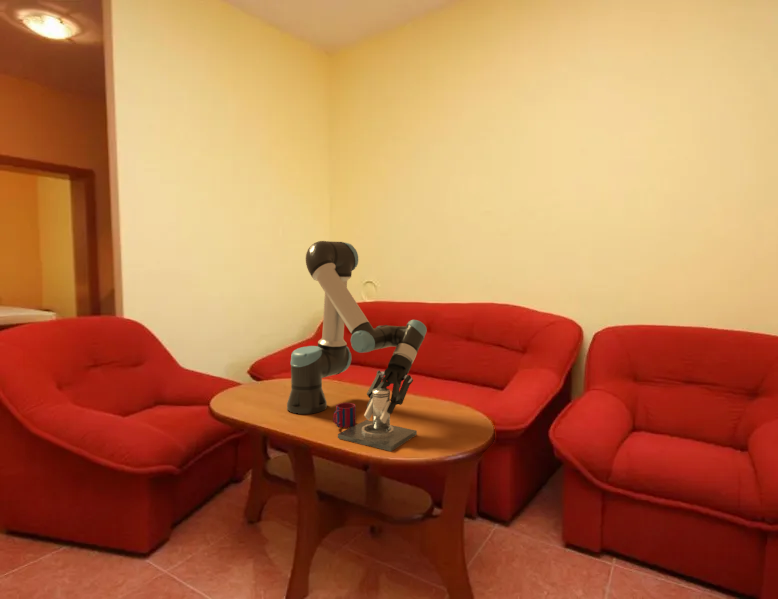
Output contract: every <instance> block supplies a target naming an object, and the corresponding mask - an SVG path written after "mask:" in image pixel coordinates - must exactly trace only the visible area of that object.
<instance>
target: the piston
mask: <svg viewBox="0 0 778 599" xmlns="http://www.w3.org/2000/svg"><path fill="white" fill-rule="evenodd" d="M390 400H391V391H390V388H388V387H387V388H376V389H373V390H372V406H373V413H372V421H373V428H375V429H380V430H382V429H388V428H389V427H390V425H391V414H389V416H388V419H387V421H386V423H385V424H384V423H383V422H382V421H381V420H380V417H381V415H382V413H383V411H384V409H385V406H386V404H387V402H388V401H390ZM390 402H391V401H390Z"/></svg>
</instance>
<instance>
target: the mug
mask: <svg viewBox="0 0 778 599" xmlns="http://www.w3.org/2000/svg"><path fill="white" fill-rule="evenodd" d="M335 406H336V407H335V411H334V413H333V417H332V420H333V423H334V424H335V425H336V426H337V427H338V428H341V427H343V428H342V429H349V428H351V427H353V426H355V425H357V423H356V419H357V418H356V404H355V403H352V402H340V403H338V404H336V405H335ZM348 427H349V428H348Z"/></svg>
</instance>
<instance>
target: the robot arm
mask: <svg viewBox="0 0 778 599" xmlns="http://www.w3.org/2000/svg"><path fill="white" fill-rule="evenodd" d="M358 264H359V254H358V251H357V249H356V248H355V247H354V245H352V244H351V243H349V242H344V241H329V240H328V241H326V240H319V241H317V242H314V243H313V244H311V245H310V246H309V248H308V249H307V251H306V253H305V266H306V269H307V271H308V273H309V275H310V276H311V279H313V281H317V282H318V283H319V285H320V287H321V288H322V290H323V291H324V303H323V316H322V317H323V320H322V334H321V335H322V336H321V338H320V339H319V340H318V341H317V345H307V346H302V347H301V346H300V347H298V348H296V349H294V350H293V351H292V352H291V355H290V356H291V357H290V378H291V379H290V380H291V381H290V382H291V383H290V384H291V385H290V386H291V390H290V393H289V395H288V400H287V403H286V410H287V411H288V410H289V411H290V412H289V411H288V412H289V413H291V412H293V413H292V414H296V413H298V414H297V415H309V414H310V415H311V414H316V413H320V412H323V411H325V410H327V408H328V407H327V405H328V404H327V403H328V402H327V399H326V395H325V393H324V391H323V385H322V384H323V379H324V378H327V377H332V376H336V375H339V374H341V373H343V372H345V371H347V370H348V369H349V367H350V366H351V363H352V353H351V351H350V348H349V347H348V346H347V345H348V344H347V343H348V342H346V341H345V339H344V337H345V336H344V335H345V326H346V328H347V329H348V331H349V332H350V334H351V337H350V344H351V348H352V349H353V350H354V351H355V352H357V353H359V354H361V353H362V354H363V353H370V352H371V351H375V350H376V351H377V350H380V349H386V348H391V347H393V348H394V347H395V349H394V351H393V353H392V355H391V357H390V359H389V361H388V363H387V368H386V369H385V370H384V371H381V370H379V369H378V370H377V371H376V375H375V378H374V380H373V381H372V382H371V385H370V387H369V389H368V391H367V392H366V395H367V397H368V398H369V400H368V402H367V404H366V410H365V412H364V414H363V416H364V417H365V418H366V420H369V421H371V417H373V406H372V390H373V389H376V388H387V389H388V387H389V386H391V385H392V390H391V395H390V401H388V402H387V404H386V406H385V409H384V411H383V413H382V415H381V417H380V420H381V421H382V422H383V423H384V424H385V423H386V421H387V419H388V416H389V414H390V415H392V413H394V410H395V407H396V406H397V405H399V406H402V405H403V403H404V400H405V398H406V395H407V393H408V390H409V388H410V385H411V384H412V383H413V381H414V379H413V377H412V376H411V375H410V374H409V373H410V370H411V368H412V366H413V363H414V361H415V359H416V357H417V354H418V352H419V350H420V347H421V345H422V344H423V342H424V340H425V336H426V334H427V331H428V330H427V326H426V325H425V324H424V323H423V322H422V321H420V320H417V319H411V320H408V322H407V323H406V325H402V326H401V325H398V326H397V325H387V324H384V325H378V326H376V327H374V328H373V326H372V324H371V323H370V321H369V320H368V318H367V316H366V315H365V313H364V312H363V311H362V309H361V307H360V306H359V305H358V303H357V301H356V299H355V298H354V297H353V295H352V293H351V292H350V291H349V289H348V281H349V279H351V278H352V272H353V271H354V270H356V268H357V266H358Z"/></svg>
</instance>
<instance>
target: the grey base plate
mask: <svg viewBox="0 0 778 599" xmlns="http://www.w3.org/2000/svg"><path fill="white" fill-rule="evenodd" d="M417 431H418V430H416V429H413V428H412V429H411V428H406V427H401V426H398V425H392V424H390V427H389V428H388V429H382V430H380V429H375V428H373V420H367V419H366V420H363V421H361V422H359V423H356V424H355V426H353V427H349V428H346V429H345V430H343V431H341V432H339V433H337V439H338V438H339V439H338V440H342V439H343V440H342V441H346V442H350V441H351V443H354V442H355V444H360V445H361V446H362V445H363V446H366V445H367V447H370V446H371V447H372V448H374V447H375V449H378V448H379V450H383V449H384V451H387V452H393V451H394V450H396V449H397V448H399V447H400V446H402V445H404V444H405V443H407V442H408V441H410V440H412V439H413V438H414V437H416V436H417V433H418V432H417ZM415 435H416V436H415ZM412 437H413V438H412ZM409 439H410V440H409ZM406 441H407V442H406ZM371 447H370V448H371ZM392 450H393V451H392Z"/></svg>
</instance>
